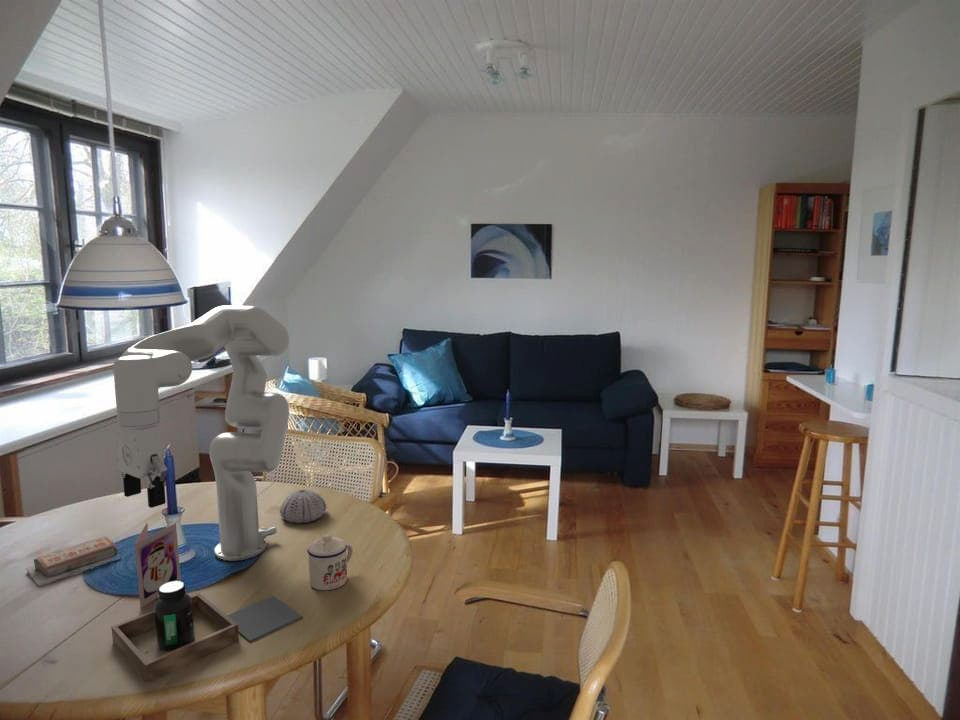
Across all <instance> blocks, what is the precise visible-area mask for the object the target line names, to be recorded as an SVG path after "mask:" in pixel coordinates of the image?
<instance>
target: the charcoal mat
mask: <svg viewBox="0 0 960 720" xmlns="http://www.w3.org/2000/svg"><path fill="white" fill-rule="evenodd" d="M226 615H227V616H228V617H229V618H231V619H232V620H233V621H234V622H235V623H237V624H238V632H239V635H240V636H241V637H243V638H244V639H246V641H248V642H249V643H252V642H254V641H257V640H258V639H260V638H262V637H265V636H266V635H269V634H271V633H273V632H275V631H277V630H279V629H282V628H284V627H286V626H288V625H290V624H292V623H294V622H296V621H298V620H301V619H303V617H304V616H303V615H302V614H300V613H299V612H298V611H296V610H295V609H293V608H292V607H290V606H289V605H287V604H286V603H284V602H283V601H282V600H281V599H279V598H277V597H276V596H274V595H272V596H268V597H266V598H264V599H261V600H260V601H258V602H255V603H253V604H250V605H247V606H246V607H243V608H241V609H238V610H236V611H234V612H231V613H229V614H226Z"/></svg>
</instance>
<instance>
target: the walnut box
mask: <svg viewBox="0 0 960 720" xmlns="http://www.w3.org/2000/svg"><path fill="white" fill-rule="evenodd" d="M189 596H190V597H191V599H192V608H193V613H196V612H197V611H198V612H200V613H201V614H202V615H203V616H204V617H205V618H206V619H208V620H209V621H210V622H211V623H212V624H213V625H215V626H216V627H217V628H218V629H219V630H217V631H215V632H211V633H210V634H208V635H206V636H203V637H201V638H199V639H196V640H193V641H192V642H191V643H189V644H187V645H185V646H183V647H180V648H178V649H176V650H174V651H168V652H167V653H165V654H162V655H160V656H158V657H156V658H154V659H153V658H152V659H151V660H148V659H147V658H146V657H145V655H143V654H142V653H141V651H140V650H139V649H138V648H137V647H136V646H135V645H134V644H133V642H131V640H130V639H132V638H133V637H134V638H135V637H136V636H139V635H142V634H144V633H147V632H149V631H151V630H153V629H156V627H155V616H154V609H153V610H151V611H148V612H146V613H144V614H141V615H139V616H136V617H133V618H131V619H128V620H125V621H123V622H120V623H118V624H114V625H112V626H111V635H112V636H111V637H112V643H113V644H114V646H115V647H116V648H117V649H118V651H119V652H120V653H121V654H122V655H123V656H124V658H126V660H127V661H128V662H129V663H130V664H131V666H132V667H133V668H134V670H136V671H137V673H138V674H139V675H140V676H141V678H143V680H144V681H145V682H146V683H147V684H149V682H152V681H154V680H156V679H159V678H161V677H162V676H165V675H167V674H169V673H172V672H173V671H176V670H178V669H180V668H183V667H184V666H186V665H188V664H192V663H193V662H195V661H198V660H201V659H202V658H204V657H207V656H209V655H210V654H212V653H215V652H217V651H220V650H222V649H223V648H226V647H228V646H230V645H233V644H235V643H238V642H239V641H240V636H239V635H240V634H239V632H238V624H237V623H235V622H234V621H233V620H232V619H231V618H229V617H228V616H227V615H228V614H226V613H224V611H222V610H221V609H219V608H218V606H216V605H215V604H213V603H212V602H211V601H210V600H209V599H207V598H206V597H205V596H204V595H203V594H201V593H200V592H198V593H195V594H192V595H189Z"/></svg>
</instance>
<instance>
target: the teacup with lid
mask: <svg viewBox="0 0 960 720" xmlns="http://www.w3.org/2000/svg"><path fill="white" fill-rule="evenodd" d="M306 550H307V551H306V552H307V553H308V570H309V571H308V572H309V585H310V586H311V588H313V589H316V590H319V591H331V590H336V589H338V588H341V587H342V586H344V585H345V584H346V582H347V580H348V569H347V568H348V567H347V564H348V563H349V562H350V561H351V559H352V556H353V553H354V552H353V551H354V550H353V546H352V545H351V544H349V543H346V541H345V540H344V539H342V538H339V537H335V536H334V537H332V535H331V534H329V533H326V534H323V535H322V538H318V539H316V540H314V541H312V542H311V543H310V544H309V545H308V546H307V549H306Z"/></svg>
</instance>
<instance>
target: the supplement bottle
mask: <svg viewBox="0 0 960 720" xmlns="http://www.w3.org/2000/svg"><path fill="white" fill-rule="evenodd" d="M190 596H191V595H189V594H188V593H187V589H186V583H185V582H184V581H182V580H181V581H170V582H167V583H165V584H163V585H161V586H160V587H159V589H158V597H157V601H156V602H155V604H154V607H153V610H154V616H155V627H156V628H155V633H156V634H155V636H156V644H157V647H158V649H160V650H162V651H165V652H171V651H174V650H176V649H178V648H180V647H183V646H185V645H187V644H189V643H192V642H194V638H195V622H194V612H193V608H192V599H191V597H190Z"/></svg>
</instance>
